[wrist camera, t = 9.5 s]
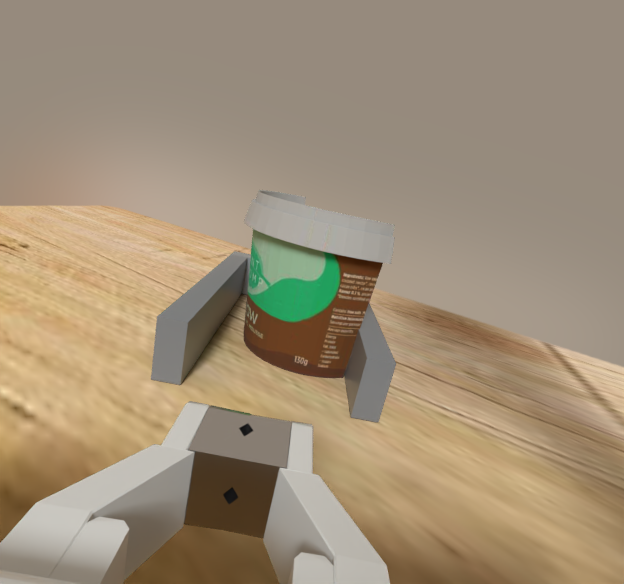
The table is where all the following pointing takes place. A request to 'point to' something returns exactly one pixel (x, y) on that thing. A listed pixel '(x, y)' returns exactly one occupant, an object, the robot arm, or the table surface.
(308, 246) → the food container
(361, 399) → the grey rectangular tray
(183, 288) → the table surface
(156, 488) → the robot arm
